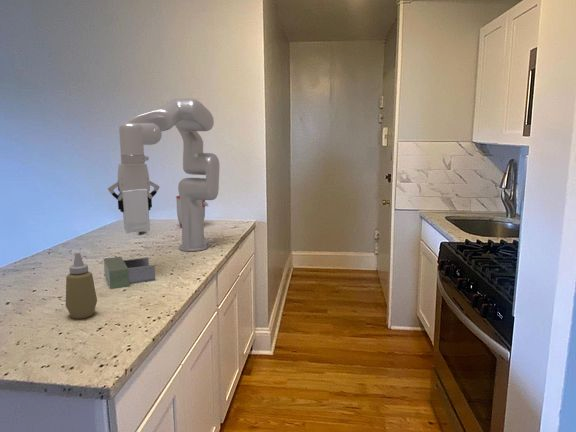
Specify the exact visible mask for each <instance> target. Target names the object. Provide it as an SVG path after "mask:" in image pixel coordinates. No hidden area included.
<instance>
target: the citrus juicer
mask: <svg viewBox="0 0 576 432" xmlns="http://www.w3.org/2000/svg"><path fill="white" fill-rule="evenodd" d="M175 198H176V213H177V214H176V215H177V220H178V221H177V222H178V224H179V226H180V228H182V216H181V201H180V196H179V195H177V196H175ZM199 202H200V203H201V205H202V207H203V219H204V220H205V217H206V216H205V215H206V207H209V202H206V200H199Z"/></svg>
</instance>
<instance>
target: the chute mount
mask: <svg viewBox="0 0 576 432" xmlns="http://www.w3.org/2000/svg"><path fill="white" fill-rule="evenodd" d="M149 261H150V260H149V257H147V256H146V257H139V258H130V259H123V258H122V256H117V257H116V256H115V257H108V258H107V257H106V258H103V268H104V276H105V277H104V278H105V279H106V282H107V283H108V288H109V289H110V290H113V289H119V288H127V287H130V285H131V284H139V283H144V282H145V283H146V282H154V281H156V269H155V265H154V264H151V265H150V264H149V263H150V262H149Z"/></svg>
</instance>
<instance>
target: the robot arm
mask: <svg viewBox="0 0 576 432" xmlns="http://www.w3.org/2000/svg"><path fill="white" fill-rule="evenodd" d="M214 123H215V121H214V116H213V114H212V113H211V111H210V109H208V108H207V107H206V106H205V105H204V104H203V103H202V102H200V101H199V100H198V99H195V98H173V99H170V100H169V101H167V102H166V103H164V104H163V105H161V106H160V107H159V108H156V109H155V110H151V111H148V112H145V113H141V114H139V115H135V116H134V117H131V118H129V119H127V121H125V122H123V123H121V124H119V127H118V130H119V131H118V132H119V133H118V134H119V147H120V164H118V167H117V168H118V169H117V182H115V183H113V184H112V185H111V186H109V187H107V190H108V192H109V193H110V194H111V196H113V198H115V199H116V200H117V208H118V210H120V212H121V213H123V212H124V208H123V200H122V198H123V196H122V191H128V190H139V189H147V195H148V209H149V211H151V208H153V205H152V204H153V201H152V199H153V197H154V196H156V194H157V192H158V191H159V189H160V186H159V185H158V184H156V183H154V182H153V181H151V180H150V175H149V169H148V165H147V163H146V162H147V161H149V156H146V155H145V151H144V150H145V147H144V146H146V145H147V146H149V145H150V146H152V145H156V144H158V143H159V142H160V141H161V139H162V137H163V135H162V132H166V131H169V130H171V129H172V128H173V127H174V126H175V128H176V129H177V131H178V132H179V134H180V136H181V139H182V142H183V144H182V145H183V151H182V169H183V172H184V173H185V174H187V175H192V176H193V175H194V176H198V175H199V176H205V178H204V177H185V178H184V177H183V178H182V179H181V180H179V182H178V185H177V187H178V189H177V190H178V194H179V195H178V196H180V201H181V216H182V227H181V236H182V237H181V239H182V241H181V242H182V243H181V244H180V245H179V246H178V250H180V251H183V252H199V251H204V250H206V249H208V244H213V243H216V242H215V238H209V237H205V230H204V229H205V226H204V225H205V223H204V221H205V218H204V219H203V207H202V205H201V203H200V202H199V200H205V201H213V200H214V201H215V200H216V199H217V197H218V196H219V190H220V185H219V184H220V161H219V157H218V156H217V155H216V154H215V153H210V152H204V140H203V138H202V137H201V135H200V133H199V132H209V131H211V130H212V128H213V127H214ZM151 186H152V187H153V190H151ZM115 189H117V190H118V194H117V192H115ZM150 191H151V192H150Z"/></svg>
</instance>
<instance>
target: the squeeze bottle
mask: <svg viewBox="0 0 576 432" xmlns="http://www.w3.org/2000/svg"><path fill="white" fill-rule="evenodd" d="M68 269H69V273H68V274H67V275H66V276H65V277H66V278H65V280H66V281H65V307H66V309H67V311H68V313H69V316H70V317H71V318H72V319H75V320H76V319H79V320H81V319H86V318H89V317H91V316H93V315H94V314H95V311H96V307H97V302H98V298H97V297H98V296H97V293H96V292H97V291H96V286H95V282H94V276H93V273H92V272H90V271H89V264H86V263H84V261H83V257H82V255H81V252H76V253H75V255H74V260H73V265H70V266H69V268H68Z"/></svg>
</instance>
